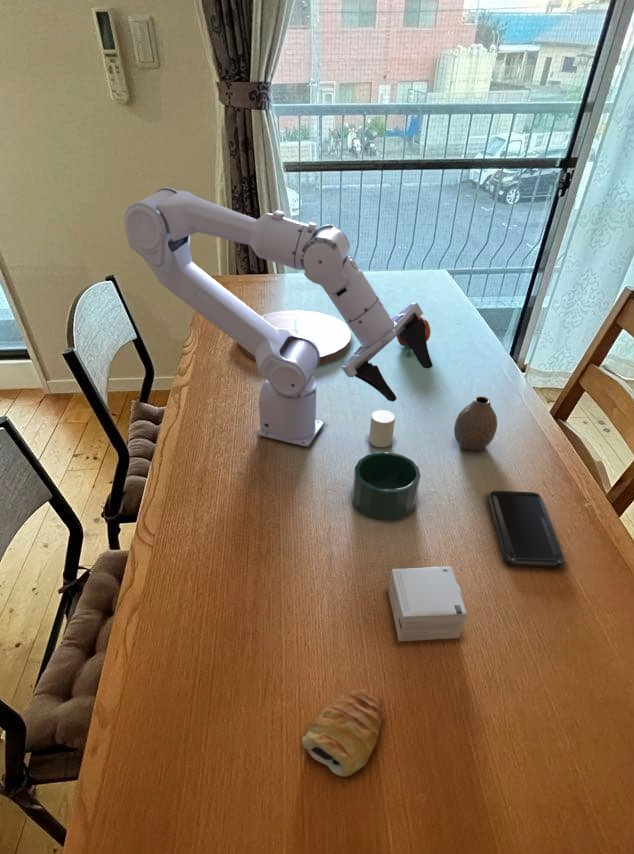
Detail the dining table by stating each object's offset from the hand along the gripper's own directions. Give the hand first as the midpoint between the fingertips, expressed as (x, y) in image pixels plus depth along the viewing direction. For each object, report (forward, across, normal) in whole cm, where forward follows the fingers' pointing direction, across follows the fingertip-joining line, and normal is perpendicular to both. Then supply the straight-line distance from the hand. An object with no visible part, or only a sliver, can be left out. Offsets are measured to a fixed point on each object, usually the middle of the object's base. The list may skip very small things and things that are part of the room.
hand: (410, 383), depth 87 cm
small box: (+15, -25, -25) cm, 38 cm away
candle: (+7, -7, +8) cm, 13 cm away
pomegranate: (+8, +18, +36) cm, 41 cm away
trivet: (-9, 0, +46) cm, 47 cm away
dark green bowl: (+9, -16, -5) cm, 19 cm away
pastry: (+11, -40, -36) cm, 55 cm away
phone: (+22, -4, -17) cm, 29 cm away
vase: (+17, +4, +3) cm, 18 cm away
